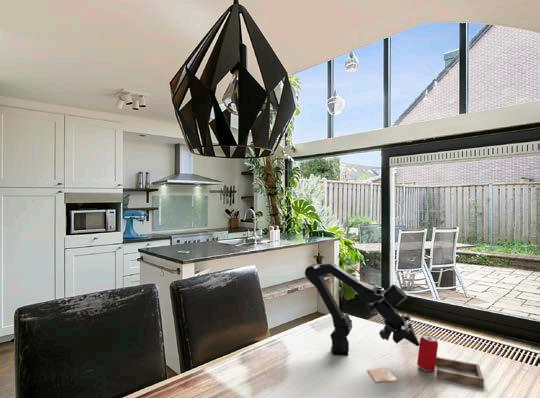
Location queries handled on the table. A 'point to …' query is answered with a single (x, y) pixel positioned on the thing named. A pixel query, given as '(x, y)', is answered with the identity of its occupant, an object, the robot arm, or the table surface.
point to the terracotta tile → (382, 375)
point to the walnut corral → (459, 372)
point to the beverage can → (427, 352)
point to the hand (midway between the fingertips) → (418, 345)
